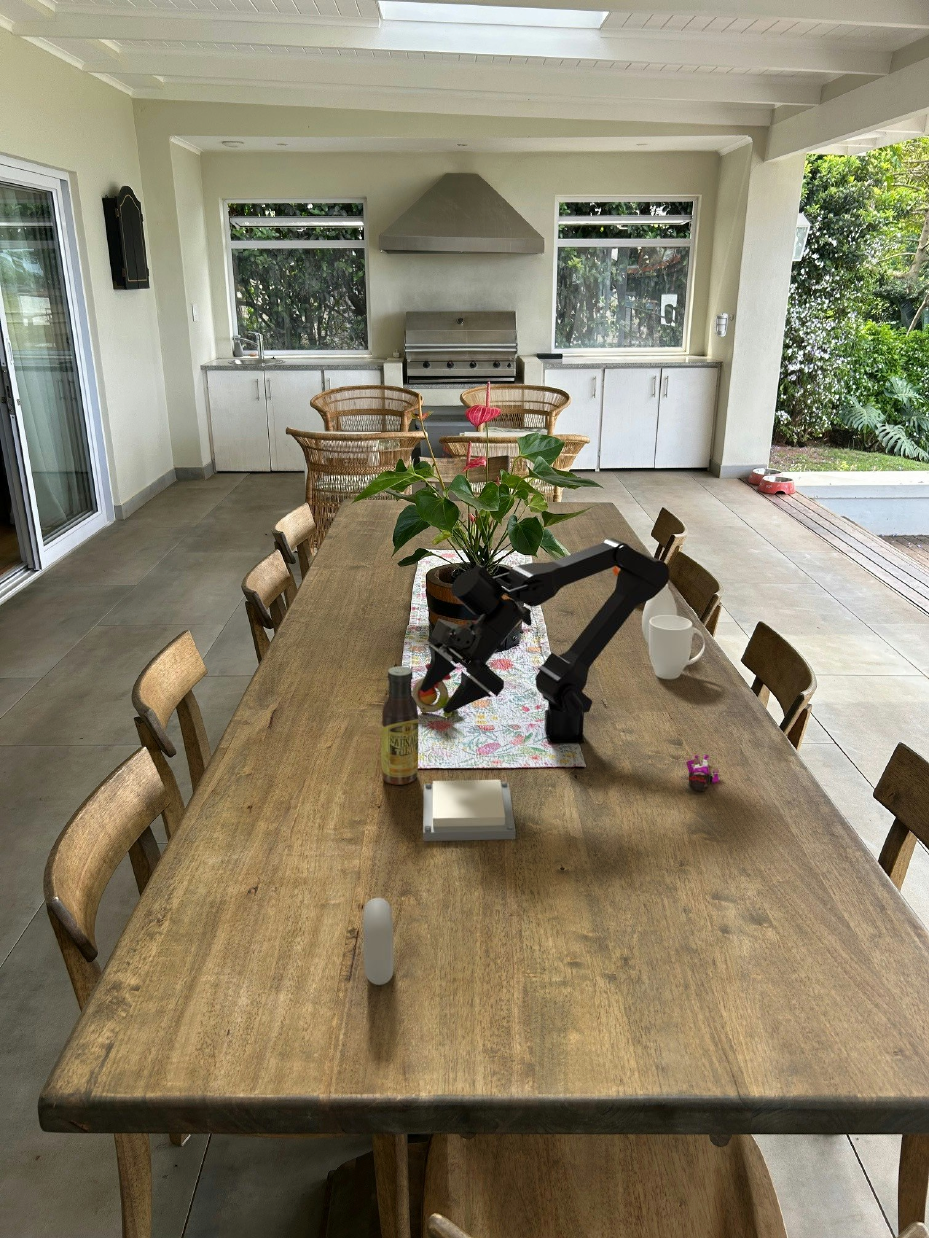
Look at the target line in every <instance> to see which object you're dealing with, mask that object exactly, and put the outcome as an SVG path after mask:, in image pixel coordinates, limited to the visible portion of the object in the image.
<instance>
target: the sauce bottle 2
mask: <svg viewBox="0 0 929 1238" xmlns="http://www.w3.org/2000/svg"><path fill="white" fill-rule="evenodd" d="M642 612H643V613H642V617H641V628H642V634H643V637H644V638H645V639H644V640H645V642H647V644H649V621H650V619H651V618H653V617H655V616H661V615H673V616H678V609H677V604H676V601H675V598H674V595H673V593H672V592H671V590H670V589H669V584H668V583H667V584H666V586H665V587H664V588H663V589H662V590H661V591H660V592H659V593H658V594H657V595H656V596H655V597H654V598H652V599H650V600H648V601H646V602H645V605H644V608H643V611H642Z"/></svg>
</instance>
